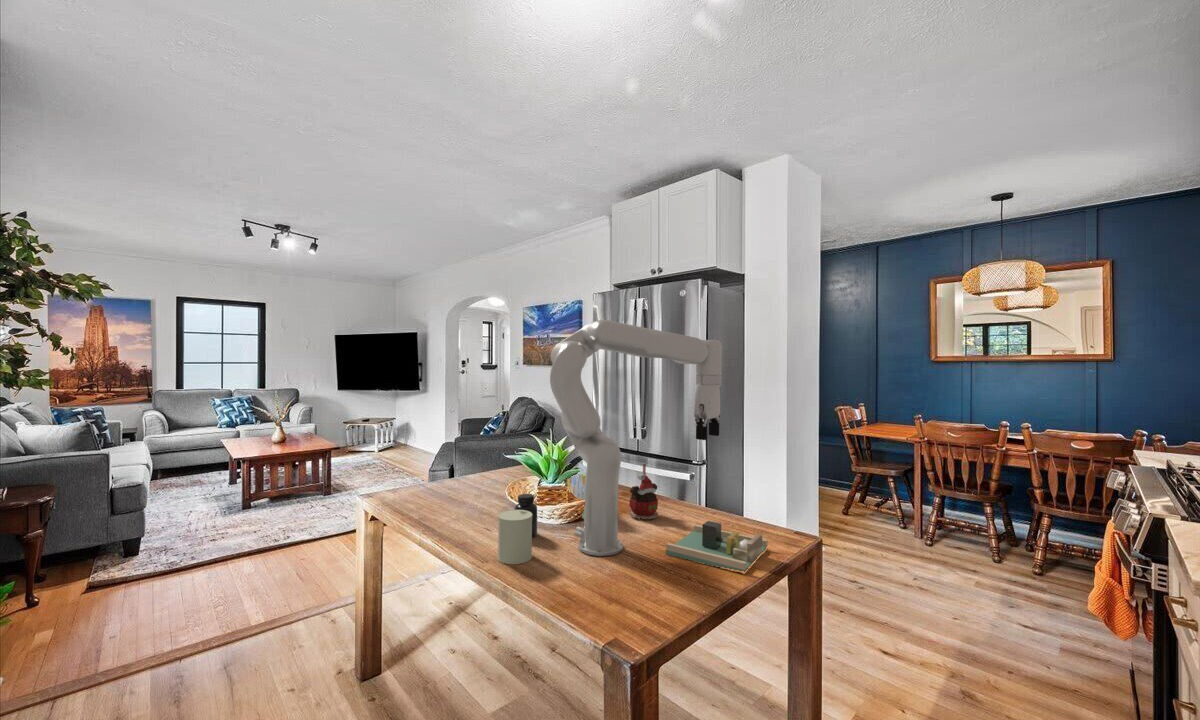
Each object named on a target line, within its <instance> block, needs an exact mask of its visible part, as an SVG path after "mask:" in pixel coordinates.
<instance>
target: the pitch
mask: <svg viewBox="0 0 1200 720" xmlns="http://www.w3.org/2000/svg"><path fill="white" fill-rule="evenodd" d="M702 526H703V525H699V524H694V525H693V530H692V531H691V532H690V533H688V534H687V535H686V536H684V537H682V538H681V539H680V540H678V541H677V542H675V543H674V544H673V543H671V542H667V543H666V544H665V555H668V556H670V557H675V558H678V557H680V558H679V559H682V558H684V560H686V559H688V560H687V561H690V560H692V561H691V562H694V561H696V562H695V563H698V562H700V563H699V564H702V563H704V564H703V565H705V564H708V565H707V566H709V565H713V566H718V567H724V568H729V569H734V570H739V571H744V572H745V571H746V570H747V569H748V567H749V566H750V565H751V564H752V563H753V562H754V561H755V560H756V559H757V557H758V556H759V555H760V554H761V553H762V552H763V551H764V550H765V549H766V547H767V546H768V541H769V540H768V539H764V538H762V552H761V553H760V554H759V555H758V556H757V557H756V559H755V560H754V561H753V562H752V563H750V562H746V561H742V560H738V559H734V558H733V553H731V554H727V553H726V543H722V542H721V545H720V546H719V547H718V548H717V549H713V548H709V547H705V546H702ZM733 532H734V531H733ZM733 532H732V531H726V530H722V529H721V538H725V539H726V538H727V537H728V536H729V535H731V534H732V533H733ZM753 537H754V536H750V535H746V534H741V533H739V542H738V544H739V543H740V542H741V541H743V540H744V539H746V540H751V539H752V538H753ZM737 549H738V548H737ZM713 566H712V567H713Z"/></svg>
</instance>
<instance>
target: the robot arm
mask: <svg viewBox="0 0 1200 720" xmlns="http://www.w3.org/2000/svg"><path fill="white" fill-rule="evenodd" d="M599 350H602V351H603V350H604V351H609V352H615V353H619V354H624V355H629V356H635V357H640V358H645V359H646V358H649V359H665V360H666V359H667V360H672V361H673V362H675V363H677V364H682V365H695V392H694V401H693V403H694V404H693V417H694V421H695V439H696V440H700V441H706V440H707V439H708V435H709V436H715V437H719V435H720V421H721V419H720V417H721V391H720V387H722V367H723V366H722V364H723V363H722V362H723V361H722V360H723V359H722V357H723V354H722V353H723V344H722V342H721V341H720V340H717V339H700V338H698V337H695V336H690V335H686V334H685V335H684V334H681V333H677V332H676V333H674V332H671V331H670V332H668V331H663V330H658V329H654V328H648V327H642V326H638V325H633V324H628V323H623V322H619V321H613V320H610V319H599V320H595V321H591V322H589V323H588V324H585V326H583V327H582V328H580V329H579V330H577V331H575V332H574V333H572V334H570V335H569V336H567V337H566V338H564V339H563V340H561V341H560V342H558V343H557V344H555V345H554V346H553V348H552V349H551V352H550V359H551V363H552V365H551V368H550V374H549V384H550V389H551V392H552V394H553V397H554V398H555V401H556V403H557V404H558V406H559V408H560V410H561V415H560V419H561V424H562V427H563V429H564V431H565V432H566V434H567V436H568V438H569V439H570V442H571V443H572V445H573V447H574V449H575V450H576V453H577V454H578V455H579V457H580V459H582V460H583V461H584V462H585V463H586V467H587V470H586V476H585V509H584V519H583V521H584V522H583V524H584V525H583V527H581V526H576V528H575V531H574V532H573V535H574V536H576V537H580V541H579V542H578V550H579V551H580V552H581V553H583V554H585V555H588V556H593V557H594V556H595V557H608V556H613V555H617V554H618V553H619V554H620V552H622V550H624V544H623V542H622V541H621V540H620V539H619V537H618V536H619V535H618V533H619V532H618V529H619V528H618V527H619V475H620V469H621V464H622V454H621V453H622V452H621V449H620V448H619V445H618V444H617V442H615V440H614V439H613V438H612V439H611V437H608V436H606V435H604V433H603V431H602V429H601V428H600V427H601V417H600V415H599V412H598V410H597V409H596V407H595V405H594V403H593V402H592V400H591V398H590V397H589V395H588V392H587V391H586V389H585V387H584V385H583V381H582V377H581V376H582V371H583V368H584V366H585V364H586V363H587V359H588V358H590V357H591V356H593V354H595V353H596V352H598V351H599ZM708 421H709V422H708ZM707 423H708V426H707Z"/></svg>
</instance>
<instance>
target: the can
mask: <svg viewBox="0 0 1200 720" xmlns="http://www.w3.org/2000/svg"><path fill="white" fill-rule="evenodd" d="M497 519H498V539H497V540H498V541H497V543H498V547H497V549H498V550H497V560H498V562H500V563H501V562H502V563H501V564H504V563H505V565H520V563H521V564H525V563H528V562H529V561H531V560H532V559H533V553H532V552H533V548H532V545H533V543H532V541H533V538H532V513H531V512H529V511H526V510H515V509H510V510H504V511H502V512H500V513H499V514H498V515H497Z"/></svg>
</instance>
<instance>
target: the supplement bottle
mask: <svg viewBox="0 0 1200 720" xmlns="http://www.w3.org/2000/svg"><path fill="white" fill-rule="evenodd" d="M534 502H535V495H534V494H532V493H521V494H518V496H517V504H516V505H515V507H514V510H526V511H529V512H531V513H532V539H533V538H535V537H536V536H537V535H538V506H537V504H535V503H534Z"/></svg>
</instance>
